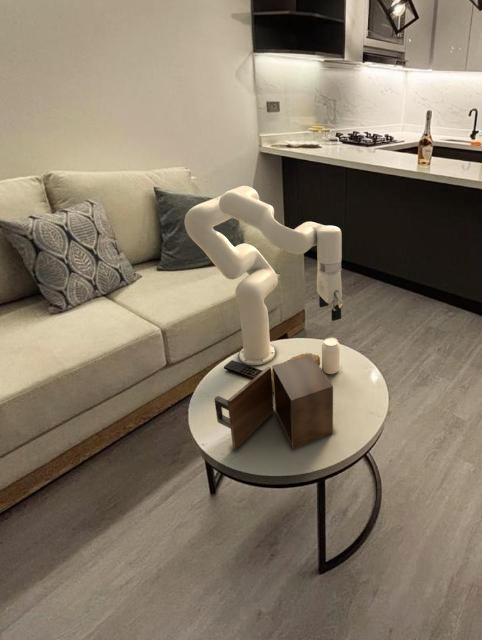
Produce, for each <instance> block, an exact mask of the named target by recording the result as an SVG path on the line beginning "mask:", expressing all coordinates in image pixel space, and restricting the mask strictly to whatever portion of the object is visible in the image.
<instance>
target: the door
mask: <svg viewBox="0 0 482 640" xmlns="http://www.w3.org/2000/svg"><path fill="white" fill-rule="evenodd" d="M271 370H272V367H271V366H267V367H266V368H264V369H263V370H262V371H261V372H259V373H258V374H257V375H256V376H255V377H253V378H252V379H251V380H250V381H249V382H247V384H245V385H244V386H243V387H241V388H240V389H239V390H238V391H236V392H235V393H234V394H233V395H232V396H230V398H228V399H226V398H224V397H223V396H219V395H216V396H215V397H214V406H215V407H214V408H215V413H216V422H217V423H218V424H220V425H222V426H224V427H226V428H228V429H230V434H231V435H230V436H231V442H232V443H231V444H232V449H234V450H237V449H238V448H239V447H240V446H241V445H242V444H243V443H244V442H245V441H246V440H247V439H249V437H250V436H251V435H252V434H254V432H255V431H256V430H258V428H260V427H261V425H262V424H263V423H265V422H266V420H268V418H270V417H271V415H273V413H274V412H275V406H274V392H272V376H271ZM223 409H224V410H227V411H228V416H226V415H224V414H223Z"/></svg>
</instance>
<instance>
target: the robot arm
mask: <svg viewBox="0 0 482 640" xmlns="http://www.w3.org/2000/svg"><path fill="white" fill-rule="evenodd" d="M231 219H234V220H237V221H238V222H241V223H243V224H246V225H248V226H250V227H253V228H254V229H256V230H259V231H260V232H261V234H262V236H263V237H264V239H266V240H267V241H268V242H269V243H270V244H271V245H272V246H274V247H276V248H278V249H280V250H283V251H284V252H287V253H289V254H292V255H303V254H305V253H306V252H308V251H309V250H311V248H313V247H315V246H316V254H317V255H316V256H317V257H316V258H317V259H316V262H317V263H316V265H317V270H316V293H317V295H318V306H319V308H324V307H328V306H329V304H330V306H331V315H330V316H331V319H330V320H331V321H332V322H334V321H339V320H341V319H342V309H343V306H344V300H343V298H342V297H343V290H342V289H343V286H342V275H341V272H342V270H343V269H342V265H343V264H342V262H343V260H342V257H343V255H342V252H343V251H342V250H343V249H342V244H343V243H342V242H343V241H342V240H343V239H342V230H341V228H340V227H338V226H335V225H324V224H321V223H317V222H314V221H305V222H303V223H302V224H300V225H298V226H297V227H295V228H294V229H293V228H290V227H287V226H285V225H283V224H281V223H280V222H278V220H276V219H275V208H274V207H273V205H271V204H269V203H267V202H264V201H262V200H260V196H259V193H258V191H257V190H255V189H254V188H253V187H251V186H249V185H240V186H237V187H235V188H233V189H229V190H227V191H225V192H224V193H223V194H222V195H219V196H216V197H215V198H211V199H208V200H206V201H203V202H201V203H198V204H196V205H194V206H193V207H191V208H190V209H189V210H188V211H187V212H186V213H185V216H184V229H185V231H186V233H187V236H189V238H190V239H191V240H192V242H194V243H195V244H196V245H197V246H198V247H199V248H200V249H201V250H202V251H203V252H204V253H205V255H206V256H207V257H208V259H209V260H210V262H212V264H213V265H214V266H215V267H216V269H218V271H219V272H220V273H221V274H222V276H223V277H225V278H226V279H228V280H231V281H232V280H236V279H239V278H240V277H242V276H243V275H244V274H248V275H247V276H245V277H244V278H243V279H242V280H240V282H239V283H238V284H237V285H236V287H235V290H234V295H235V300H236V303H237V306H238V311H239V319H240V329H241V337H242V338H241V341H242V349H241V350H240V352H239V355H238V356H239V360H240V362H242V363H243V364H245V365H248V366H260V365H264V364H267V363H268V362H271V360H273V358H274V357H275V355H276V349H275V347H274V346H273V345H271V338H270V323H269V322H270V320H269V311H268V310H269V309H268V307H267V306H266V304H265V299H266V297H268V296H269V295H270V293H272V292H273V291H274V290H275V289H276V287H277V286H278V283H279V278H278V275H277V273H276V271H275V270H274V268H273V267H272V266H271V265H270V263H269V262H268V261H267V260H266V258H265V257H264V256H263V254H261V252H260V251H259V250H258V249H257V248H256V247H255V246H253V245H252V244H250V243H240V244H237V245H236V246H234V245H233V244H232V243H231V242H230V241H229V239H228V237H226V236H225V235H224V234H223V233H221V232H219V231H218V230H215V229H214V227H217V226H218V225H220V224H223V223H226V222H227V221H229V220H231ZM335 303H337V304H335Z"/></svg>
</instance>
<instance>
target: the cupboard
mask: <svg viewBox="0 0 482 640" xmlns="http://www.w3.org/2000/svg"><path fill="white" fill-rule="evenodd" d="M289 360H290V359H289ZM286 361H287V360H286ZM272 369H273V385H274V392H273V402H274V412H275V414H276V416H277V418H278V420H279V422H280V424H281V426H282V429H283V431H284V433H285V435H286V436H287V439H288V441H289V443H290V445H291V447H292V450H294V449H296V448H299V447H301V446H304V445H307V444H308V443H309V444H310V443H311V442H313V441H316V440H319V439H321V438H324V437H327V436H329V435H331V434H333V433H334V385H333V384H332V382H331V381H330V380H329V378H328V377H327V375H326V373H325V372H324V371H323V370H322V367H321V366H319V365H318V364H317V363H316V361H315V360H314V358H313V357H312V356H311V355H307V356H304V357H300V358H297V359H293V360H290V361H287V362H285V361H284V362H280V363H276V364H273V365H272V367H271V370H272Z"/></svg>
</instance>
